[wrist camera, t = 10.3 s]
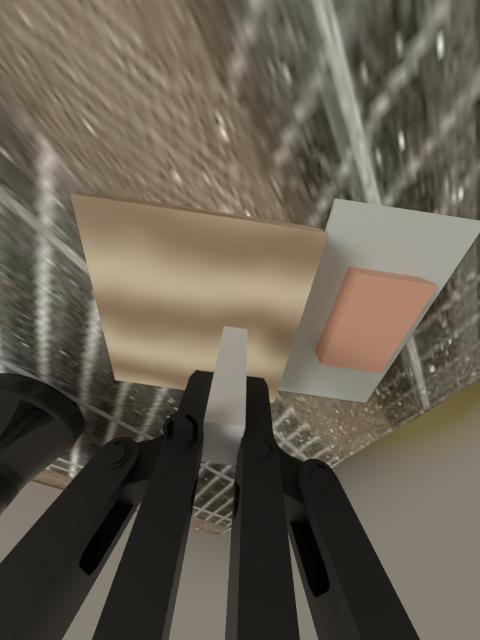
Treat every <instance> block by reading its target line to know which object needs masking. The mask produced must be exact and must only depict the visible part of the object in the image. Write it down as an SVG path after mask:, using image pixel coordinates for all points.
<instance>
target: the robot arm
mask: <svg viewBox="0 0 480 640" xmlns="http://www.w3.org/2000/svg"><path fill="white" fill-rule="evenodd" d="M246 371H247V329H242V328H235V327H228V326H224V328H223V333H222V338H221V342H220V347H219V352H218V356H217V361H216V366H215V371H214V372H209V371H201V370H196V371H195V372H194V373H193V374H192V375H191V376H190V377H189V380H188V383H187V386H186V389H185V391H184V394H183V397H182V400H181V403H180V406H179V409H178V412H177V413H174V414H172V415H171V416H170V417H169V418H167V420H166V421H165V423H164V425H163V432H164V435H162V436H160V437H158V438H155V439H152V440H147V441H142V442H138V443H136V441H134V440H133V439H132V438H129V437H120V438H115V439H113V440H111V441H109V442H107V443H106V444H105V445H104V446H103V447H102V448H100V449H99V450H98V452H97V453H96V454H95V455H94V456H93V457H92V458H91V460H90V461H89V462H88V463H87V464H86V465H85V467H84V468H83V469H82V470H81V471H80V472H79V473H78V475H77V476H76V477H75V478H74V479H73V480H72V481H71V483H70V484H69V485H68V486H67V487H66V488H65V490H64V491H63V492H62V493H61V494H60V495H59V497H58V498H57V499H56V500H55V501H54V502H53V503H52V505H51V506H50V507H49V508H48V509H47V510H46V512H45V513H44V514H43V515H42V516H41V517H40V518H39V519H38V521H37V522H36V523H35V524H34V525H33V526H32V527H31V529H30V530H29V531H28V532H27V533H26V534H25V536H24V537H23V538H22V539H21V540H20V541H19V543H18V544H17V545H16V546H15V547H14V548H13V550H11V552H10V553H9V554H8V555H7V556H6V557H5V559H4V560H3V561H2V562H1V563H0V640H62V638H63V637H64V635H65V633H66V631H67V630H68V628H69V626H70V624H71V623H72V621H73V619H74V617H75V615H76V614H77V612H78V610H79V609H80V607H81V605H82V603H83V602H84V600H85V598H86V596H87V595H88V593H89V591H90V589H91V588H92V586H93V584H94V582H95V581H96V579H97V577H98V575H99V574H100V572H101V570H102V568H103V567H104V565H105V563H106V561H107V560H108V558H109V556H110V554H111V552H112V551H113V549H114V547H115V546H116V544H117V542H118V540H119V539H120V537H121V535H122V533H123V532H124V530H125V528H126V526H127V525H128V523H129V521H130V519H131V518H132V516H133V514H134V512H135V511H136V509H137V507H138V505H139V504H140V503H141V505H140V508H139V511H138V514H137V516H136V519H135V522H134V525H133V527H132V530H131V533H130V536H129V538H128V541H127V544H126V547H125V549H124V552H123V555H122V558H121V561H120V563H119V566H118V569H117V572H116V574H115V577H114V580H113V583H112V586H111V589H110V591H109V594H108V597H107V600H106V602H105V605H104V608H103V611H102V613H101V616H100V619H99V622H98V625H97V627H96V630H95V633H94V636H93V638H92V640H169V634H170V629H171V623H172V618H173V613H174V608H175V602H176V596H177V591H178V585H179V581H180V575H181V570H182V564H183V559H184V553H185V548H186V543H187V537H188V532H189V526H190V521H191V516H192V510H193V505H194V499H195V494H196V489H197V483H198V476H199V469H200V463H201V462H209V463H218V464H226V465H235V466H236V477H235V481H234V485H233V489H232V491H233V492H234V496H233V513H232V530H231V548H230V565H229V581H228V598H227V615H226V633H225V640H300V637H299V629H298V619H297V610H296V601H295V593H294V584H293V575H292V566H291V557H290V548H289V540H288V533H289V537H290V541H291V544H292V548H293V551H294V555H295V558H296V562H297V565H298V569H299V573H300V576H301V580H302V583H303V587H304V590H305V594H306V597H307V601H308V604H309V608H310V612H311V615H312V618H313V622H314V626H315V629H316V633H317V637H318V640H420V639H419V637H418V635H417V633H416V631H415V629H414V627H413V626H412V624H411V621H410V619H409V617H408V615H407V613H406V611H405V609H404V607H403V606H402V603H401V602H400V599H399V598H398V596H397V594H396V592H395V590H394V588H393V586H392V584H391V582H390V580H389V578H388V576H387V574H386V572H385V570H384V568H383V566H382V564H381V562H380V560H379V558H378V556H377V554H376V552H375V550H374V548H373V547H372V545H371V543H370V541H369V539H368V537H367V535H366V533H365V531H364V529H363V527H362V525H361V523H360V521H359V519H358V517H357V515H356V513H355V511H354V509H353V507H352V505H351V503H350V501H349V499H348V497H347V495H346V494H345V492H344V490H343V488H342V486H341V484H340V482H339V480H338V478H337V476H336V475H335V473H334V472H333V470H332V469H331V468H330V467H329V466H328V465H327V464H326V463H325V462H322V461H320V460H318V459H308V460H306V461H305V462H303V461H300V460H298V459H296V458H294V457H292V456H290V455H288V454H287V453H285V452H284V451H283V450H282V449H281V448H280V447H279V446H278V445H277V443H276V441H275V439H274V436H273V429H272V419H271V409H270V399H269V389H268V385H267V383H266V381H265V380H264V378H260V377H252V376H246ZM84 428H85V422H84V419H83V416H82V415H81V413H80V411H79V410H78V409H77V408H76V406H75V405H74V404H73V403H72V402H70V401H69V400H68V399H67V398H66V397H64V396H63V395H62V394H60V393H59V392H57V391H55V390H54V389H52V388H50V387H48V386H46V385H44V384H42V383H40V382H37V381H35V380H32V379H29V378H26V377H22V376H18V375H12V374H0V515H1V514H2V513H3V512H4V510H5V509H6V508H7V507H8V505H9V504H10V503H11V502H12V501H13V499H14V498H15V497H16V495H17V494H18V493H19V492H20V491H21V490H22V488H23V487H24V486H25V485H26V484H27V483H29V482H30V481H31V480H32V479H33V478H35V477H36V476H37V475H38V474H39V473H41V472H42V471H43V470H44V469H45V468H47V467H48V466H49V465H50V464H51V463H53V462H54V461H55V460H56V459H57V458H58V457H59V456H61V455H62V454H63V453H64V452H66V451H67V450H69V449H70V448H71V447H72V446H73V445H74V443H75V442H76V441H77V439H78V438H79V437H80V435H81V434H82V433H83V431H84ZM236 463H237V465H236Z"/></svg>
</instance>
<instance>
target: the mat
mask: <svg viewBox="0 0 480 640" xmlns="http://www.w3.org/2000/svg"><path fill="white" fill-rule="evenodd" d="M325 231H326V232H328V233H329V234H328V237H327V240H326V243H325V246H324V250H323V253H322V256H321V259H320V262H319V265H318V268H317V271H316V274H315V277H314V280H313V283H312V286H311V290H310V293H309V296H308V299H307V302H306V305H305V308H304V311H303V314H302V317H301V320H300V323H299V326H298V329H297V333H296V336H295V339H294V342H293V345H292V348H291V351H290V354H289V357H288V360H287V363H286V366H285V369H284V372H283V376H282V379H281V382H280V385H279V388H278V390H281V391H288V392H295V393H302V394H309V395H316V396H322V397H329V398H336V399H343V400H350V401H357V402H364V403H366V402H367V401H368V399H369V398H370V396H371V395H372V393H373V392H374V390H375V389H376V387H377V386H378V384H379V383H380V381H381V380H382V378H383V377H384V375H385V374H386V372H387V371H388V369H389V368H390V366H391V365H392V363H393V362H394V360H395V359H396V357H397V356H398V354H399V353H400V351H401V350H402V348H403V347H404V345H405V344H406V342H407V341H408V339H409V338H410V336H411V335H412V333H413V332H414V330H415V329H416V327H417V326H418V324H419V323H420V321H421V320H422V318H423V317H424V315H425V314H426V312H427V311H428V309H429V308H430V306H431V305H432V303H433V302H434V300H435V299H436V297H437V296H438V294H439V293H440V291H441V290H442V288H443V287H444V285H445V284H446V282H447V281H448V279H449V278H450V276H451V275H452V273H453V272H454V270H455V269H456V267H457V266H458V264H459V263H460V261H461V260H462V258H463V257H464V255H465V254H466V252H467V251H468V249H469V248H470V246H471V245H472V243H473V242H474V240H475V239H476V237H477V236H478V234H479V233H480V221H478V220H472V219H465V218H459V217H452V216H446V215H439V214H433V213H426V212H420V211H413V210H407V209H400V208H394V207H387V206H381V205H374V204H368V203H361V202H355V201H349V200H342V199H335V201H334V204H333V207H332V210H331V213H330V217H329V220H328V223H327V226H326V229H325ZM349 266H350V267H357V268H364V269H370V270H377V271H384V272H391V273H397V274H404V275H411V276H417V277H421V278H424V279H426V280H428V281H430V282H432V283H434V284H437V285H438V287H437V288H436V290H435V291H434V293H433V294H432V296H431V298H430V299H429V301H428V302H427V304H426V305H425V307H424V308H423V310H422V311H421V313H420V314H419V316H418V318H417V319H416V321H415V322H414V324H413V325H412V327H411V328H410V330H409V331H408V333H407V334H406V336H405V338H404V339H403V341H402V342H401V344H400V345H399V347H398V348H397V350H396V351H395V353H394V354H393V356H392V358H391V359H390V361H389V362H388V364H387V365H386V367H385V368H384V370H383V371H382V373H379V372H372V371H365V370H358V369H351V368H344V367H337V366H330V365H324V364H320V362H319V360H318V357H317V355H316V352H315V350H316V347H317V345H318V342H319V340H320V337H321V335H322V332H323V330H324V327H325V325H326V322H327V320H328V317H329V315H330V312H331V310H332V307H333V305H334V302H335V300H336V297H337V295H338V292H339V290H340V287H341V285H342V282H343V280H344V277H345V275H346V272H347V270H348V267H349Z"/></svg>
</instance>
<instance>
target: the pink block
mask: <svg viewBox="0 0 480 640" xmlns="http://www.w3.org/2000/svg"><path fill="white" fill-rule="evenodd" d="M437 287H438V285H437V284H434V283H432V282H430V281H428V280H426V279H424V278H421V277H417V276H411V275H404V274H397V273H391V272H384V271H377V270H370V269H364V268H357V267H350V266H349V267H348V270H347V272H346V275H345V277H344V280H343V282H342V285H341V287H340V290H339V292H338V295H337V297H336V300H335V302H334V305H333V307H332V310H331V312H330V315H329V317H328V320H327V322H326V325H325V327H324V330H323V332H322V335H321V337H320V340H319V342H318V345H317V347H316V350H315V352H316V355H317V357H318V360H319V362H320V364H324V365H330V366H337V367H344V368H351V369H358V370H365V371H372V372H379V373H382V371H383V370H384V368H385V367H386V365H387V364H388V362H389V361H390V359H391V358H392V356H393V354H394V353H395V351H396V350H397V348H398V347H399V345H400V344H401V342H402V341H403V339H404V338H405V336H406V334H407V333H408V331H409V330H410V328H411V327H412V325H413V324H414V322H415V321H416V319H417V318H418V316H419V314H420V313H421V311H422V310H423V308H424V307H425V305H426V304H427V302H428V301H429V299H430V298H431V296H432V294H433V293H434V291H435V290H436V288H437Z"/></svg>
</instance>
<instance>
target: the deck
mask: <svg viewBox="0 0 480 640" xmlns="http://www.w3.org/2000/svg"><path fill="white" fill-rule="evenodd" d="M70 195H71V199H72V203H73V208H74V212H75V216H76V220H77V224H78V228H79V232H80V237H81V241H82V245H83V249H84V253H85V257H86V261H87V265H88V270H89V274H90V278H91V282H92V286H93V290H94V294H95V299H96V303H97V307H98V311H99V315H100V319H101V323H102V327H103V332H104V336H105V340H106V344H107V348H108V352H109V356H110V361H111V365H112V369H113V373H114V377H115V380H119V381H126V382H133V383H140V384H147V385H154V386H161V387H168V388H174V389H181V390H185V389H186V386H187V383H188V380H189V377H190V376H191V375H192V374H193V373H194V372H195V371H196V370H201V371H209V372H214V371H215V366H216V361H217V356H218V352H219V347H220V342H221V338H222V333H223V328H224V326H228V327H235V328H242V329H247V371H246V376H252V377H260V378H264V380H265V381H266V383H267V385H268V389H269V399H270V402H271V403H274V400H275V397H276V394H277V391H278V388H279V385H280V382H281V379H282V376H283V372H284V369H285V366H286V363H287V360H288V357H289V354H290V351H291V348H292V345H293V342H294V339H295V336H296V333H297V329H298V326H299V323H300V320H301V317H302V314H303V311H304V308H305V305H306V302H307V299H308V296H309V293H310V290H311V286H312V283H313V280H314V277H315V274H316V271H317V268H318V265H319V262H320V259H321V256H322V253H323V250H324V246H325V243H326V240H327V237H328V234H329V233H328V232H326V231H323V230H321V229H319V228H316V227H314V226H309V225H302V224H296V223H289V222H283V221H276V220H269V219H263V218H256V217H250V216H243V215H237V214H230V213H224V212H217V211H211V210H204V209H197V208H191V207H184V206H178V205H171V204H165V203H158V202H152V201H145V200H139V199H132V198H125V197H119V196H112V195H95V194H71V193H70Z"/></svg>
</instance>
